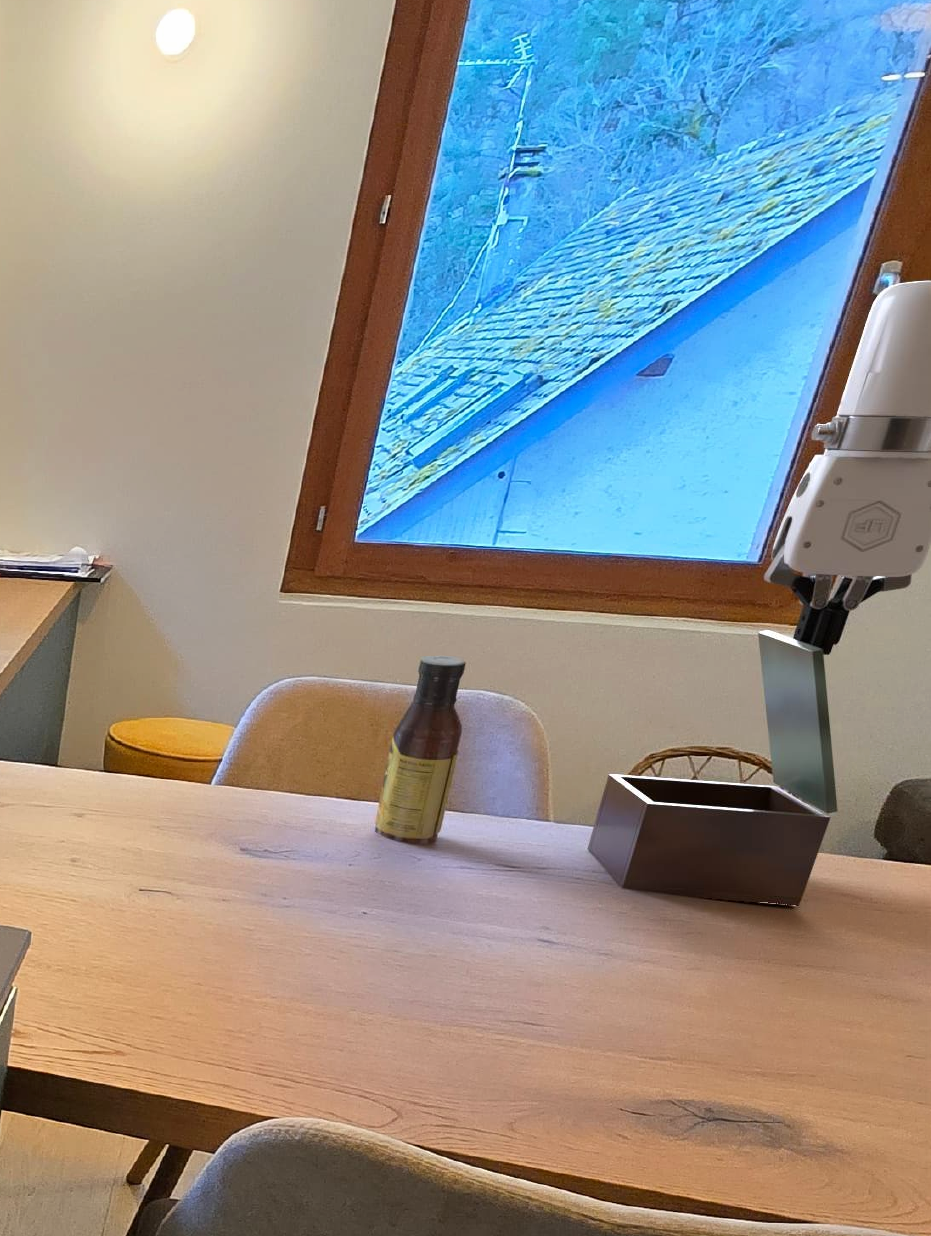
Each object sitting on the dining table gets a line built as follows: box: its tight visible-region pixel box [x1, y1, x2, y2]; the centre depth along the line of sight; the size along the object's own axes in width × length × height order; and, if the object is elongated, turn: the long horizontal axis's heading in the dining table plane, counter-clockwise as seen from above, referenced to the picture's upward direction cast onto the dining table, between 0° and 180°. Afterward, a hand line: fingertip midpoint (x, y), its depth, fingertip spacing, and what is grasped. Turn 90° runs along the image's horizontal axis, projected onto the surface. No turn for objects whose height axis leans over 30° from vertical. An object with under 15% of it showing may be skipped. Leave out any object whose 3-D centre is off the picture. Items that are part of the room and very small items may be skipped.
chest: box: [587, 773, 831, 907], centre depth 133 cm, size 15×12×9 cm
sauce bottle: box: [374, 655, 466, 845], centre depth 141 cm, size 7×6×20 cm
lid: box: [757, 629, 838, 815], centre depth 127 cm, size 15×12×1 cm
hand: (811, 651), depth 125 cm, fingers closed
